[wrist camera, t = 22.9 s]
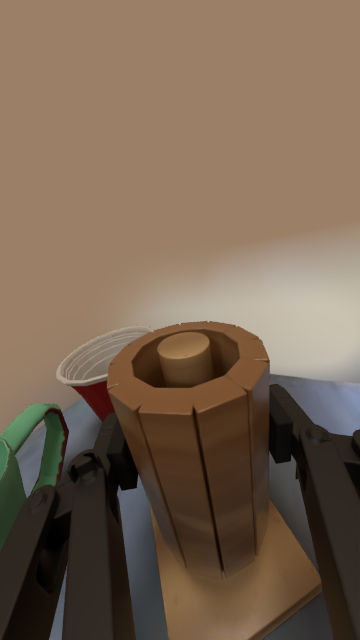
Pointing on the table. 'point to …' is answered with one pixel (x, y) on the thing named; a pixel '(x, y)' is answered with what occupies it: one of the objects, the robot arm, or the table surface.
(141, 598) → the table surface
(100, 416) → the plastic cup
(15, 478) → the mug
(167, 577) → the towel stand
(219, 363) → the wooden tube
